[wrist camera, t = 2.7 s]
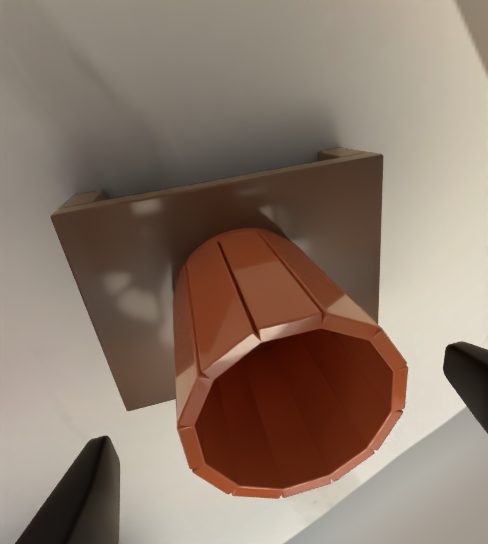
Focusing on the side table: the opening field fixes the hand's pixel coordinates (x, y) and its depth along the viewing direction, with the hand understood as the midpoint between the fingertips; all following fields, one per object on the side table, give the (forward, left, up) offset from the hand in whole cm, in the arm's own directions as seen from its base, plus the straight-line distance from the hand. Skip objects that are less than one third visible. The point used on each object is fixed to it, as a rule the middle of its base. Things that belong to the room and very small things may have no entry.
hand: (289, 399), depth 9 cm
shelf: (0, 0, -9) cm, 9 cm away
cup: (0, 0, -6) cm, 6 cm away
